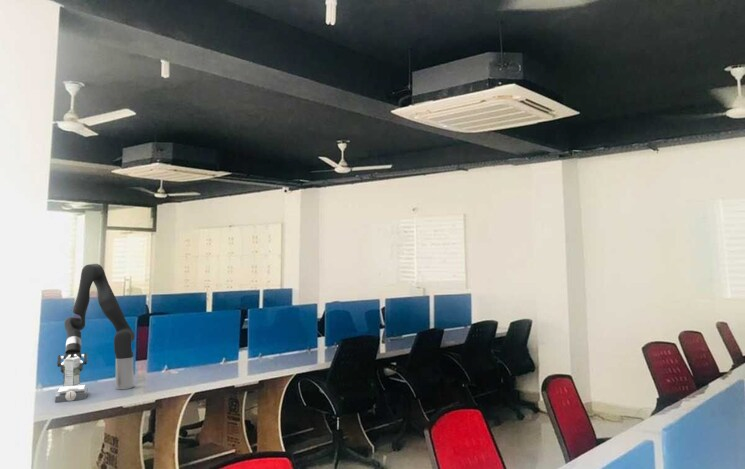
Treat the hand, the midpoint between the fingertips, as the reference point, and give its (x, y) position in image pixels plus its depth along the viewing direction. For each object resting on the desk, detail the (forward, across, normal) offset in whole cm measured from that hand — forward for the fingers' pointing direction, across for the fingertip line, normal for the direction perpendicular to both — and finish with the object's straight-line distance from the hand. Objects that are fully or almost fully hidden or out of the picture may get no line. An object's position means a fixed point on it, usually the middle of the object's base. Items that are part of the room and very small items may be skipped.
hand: (71, 371), depth 287 cm
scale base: (+9, 0, +11) cm, 14 cm away
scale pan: (+6, 0, +8) cm, 10 cm away
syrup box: (+5, 0, +6) cm, 8 cm away
